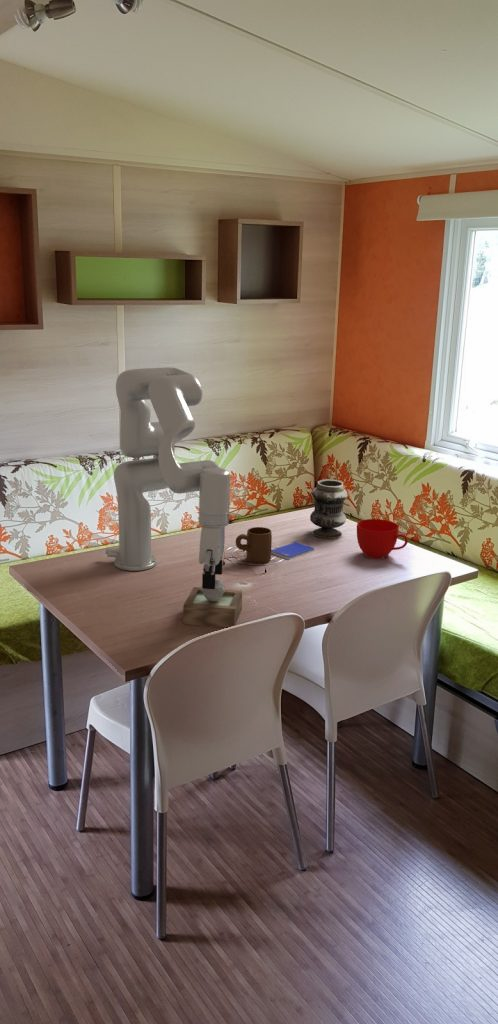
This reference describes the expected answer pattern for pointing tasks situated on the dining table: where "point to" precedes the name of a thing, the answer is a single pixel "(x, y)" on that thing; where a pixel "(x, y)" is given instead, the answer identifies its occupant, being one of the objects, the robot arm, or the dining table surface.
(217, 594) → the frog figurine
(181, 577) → the dining table surface
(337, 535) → the apothecary jar
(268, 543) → the mug
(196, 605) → the pedestal
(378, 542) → the ceramic cup
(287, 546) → the hard drive
